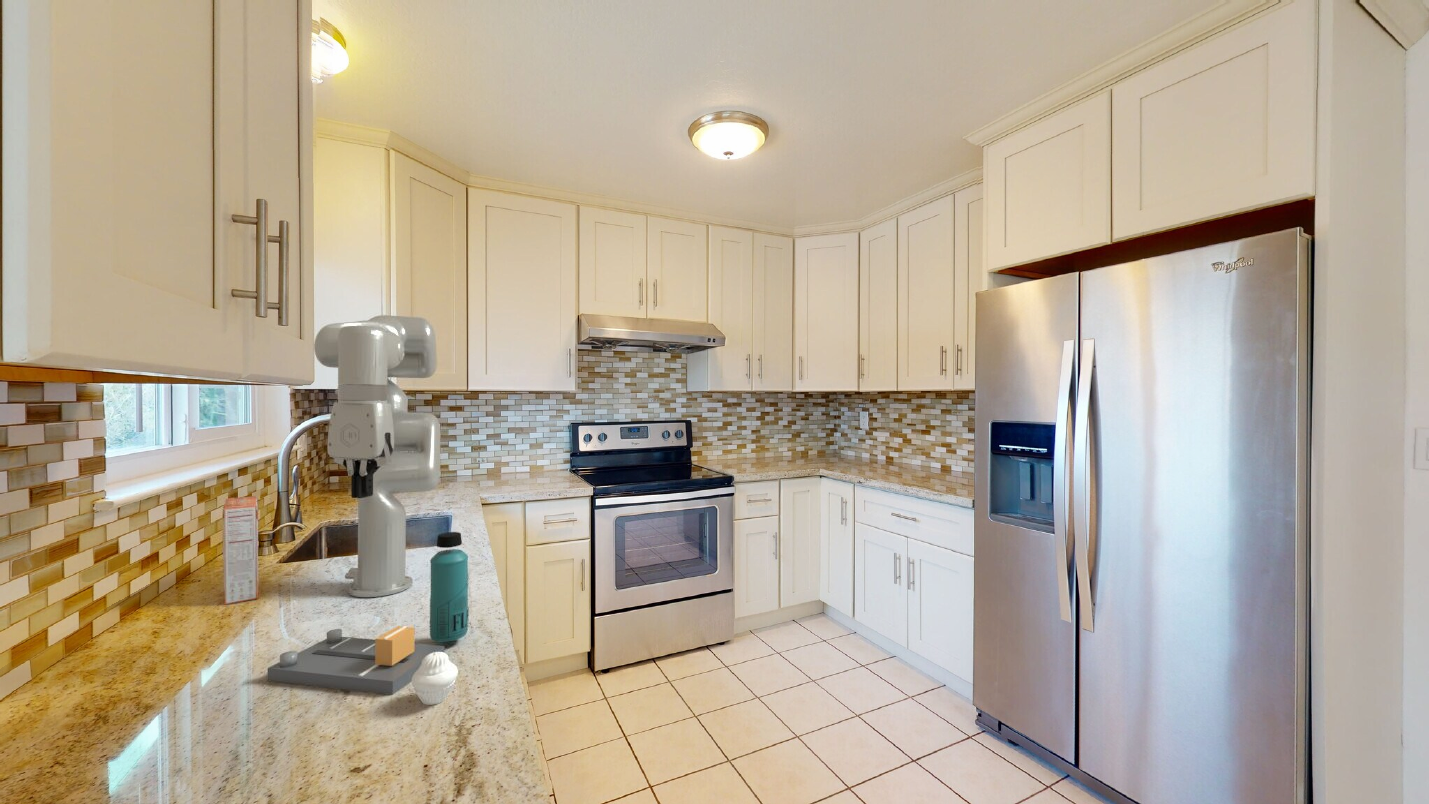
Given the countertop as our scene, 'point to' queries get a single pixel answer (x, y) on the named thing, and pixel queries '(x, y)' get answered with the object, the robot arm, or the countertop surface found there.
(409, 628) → the fader tab
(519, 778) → the countertop surface
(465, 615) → the beverage bottle
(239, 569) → the cracker box
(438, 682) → the muffin
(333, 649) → the console board
